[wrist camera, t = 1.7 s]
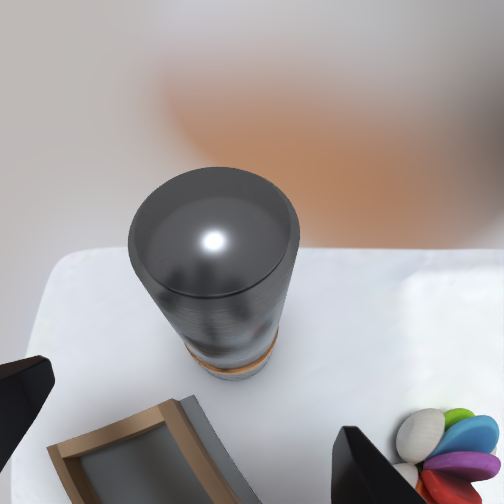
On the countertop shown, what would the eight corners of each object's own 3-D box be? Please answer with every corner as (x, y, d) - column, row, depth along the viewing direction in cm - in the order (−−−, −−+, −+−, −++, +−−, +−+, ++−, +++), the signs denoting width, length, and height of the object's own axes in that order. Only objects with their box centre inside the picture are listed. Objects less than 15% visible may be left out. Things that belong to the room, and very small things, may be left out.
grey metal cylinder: (216, 395, 18) (159, 346, 7) (180, 327, 21) (105, 199, 9) (288, 356, 20) (342, 250, 8) (247, 293, 22) (246, 141, 11)
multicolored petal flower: (341, 512, 14) (384, 545, 7) (408, 393, 18) (469, 373, 12) (428, 536, 11) (484, 557, 5) (482, 429, 15) (545, 415, 9)
